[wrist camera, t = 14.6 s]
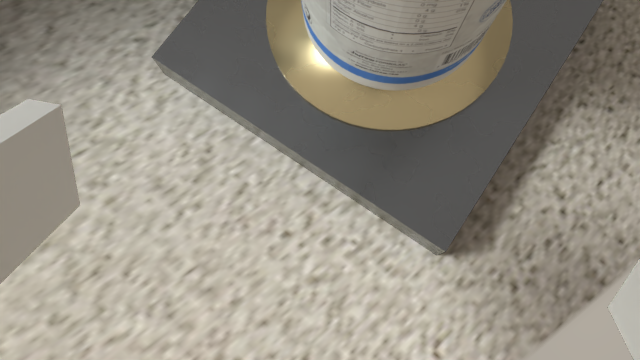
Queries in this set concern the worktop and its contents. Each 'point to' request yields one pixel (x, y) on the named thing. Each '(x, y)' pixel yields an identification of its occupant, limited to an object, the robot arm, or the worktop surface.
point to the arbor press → (378, 104)
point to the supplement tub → (397, 38)
